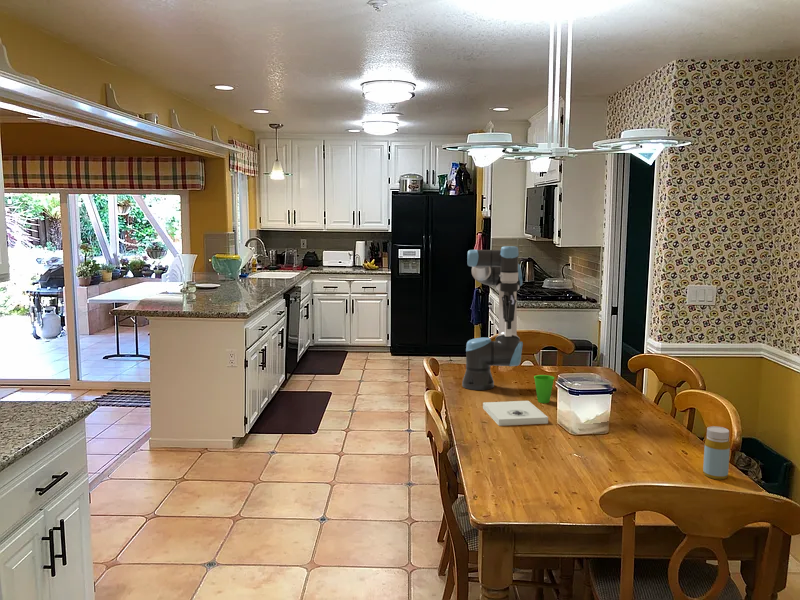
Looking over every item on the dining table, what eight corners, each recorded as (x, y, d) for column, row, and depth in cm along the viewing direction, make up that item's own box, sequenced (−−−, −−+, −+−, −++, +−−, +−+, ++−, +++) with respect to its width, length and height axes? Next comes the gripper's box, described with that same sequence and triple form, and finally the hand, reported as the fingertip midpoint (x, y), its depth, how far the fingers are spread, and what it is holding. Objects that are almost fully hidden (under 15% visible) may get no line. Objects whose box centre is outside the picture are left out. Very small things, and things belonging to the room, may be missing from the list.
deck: (482, 408, 277) (483, 402, 277) (528, 406, 280) (528, 400, 279) (498, 425, 254) (498, 419, 253) (548, 423, 256) (548, 417, 256)
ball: (512, 410, 263) (514, 412, 260) (520, 409, 264) (522, 412, 260) (512, 417, 264) (514, 420, 260) (520, 417, 264) (522, 419, 261)
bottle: (698, 472, 206) (701, 426, 205) (719, 471, 207) (722, 425, 205) (710, 480, 200) (713, 433, 198) (732, 479, 200) (735, 432, 198)
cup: (552, 399, 291) (553, 375, 289) (555, 404, 282) (556, 380, 281) (532, 398, 292) (532, 374, 290) (534, 404, 283) (534, 379, 281)
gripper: (496, 280, 286) (495, 333, 289) (505, 283, 273) (504, 339, 276) (512, 280, 287) (512, 333, 290) (522, 283, 274) (521, 338, 277)
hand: (508, 336), depth 283 cm, fingers closed
